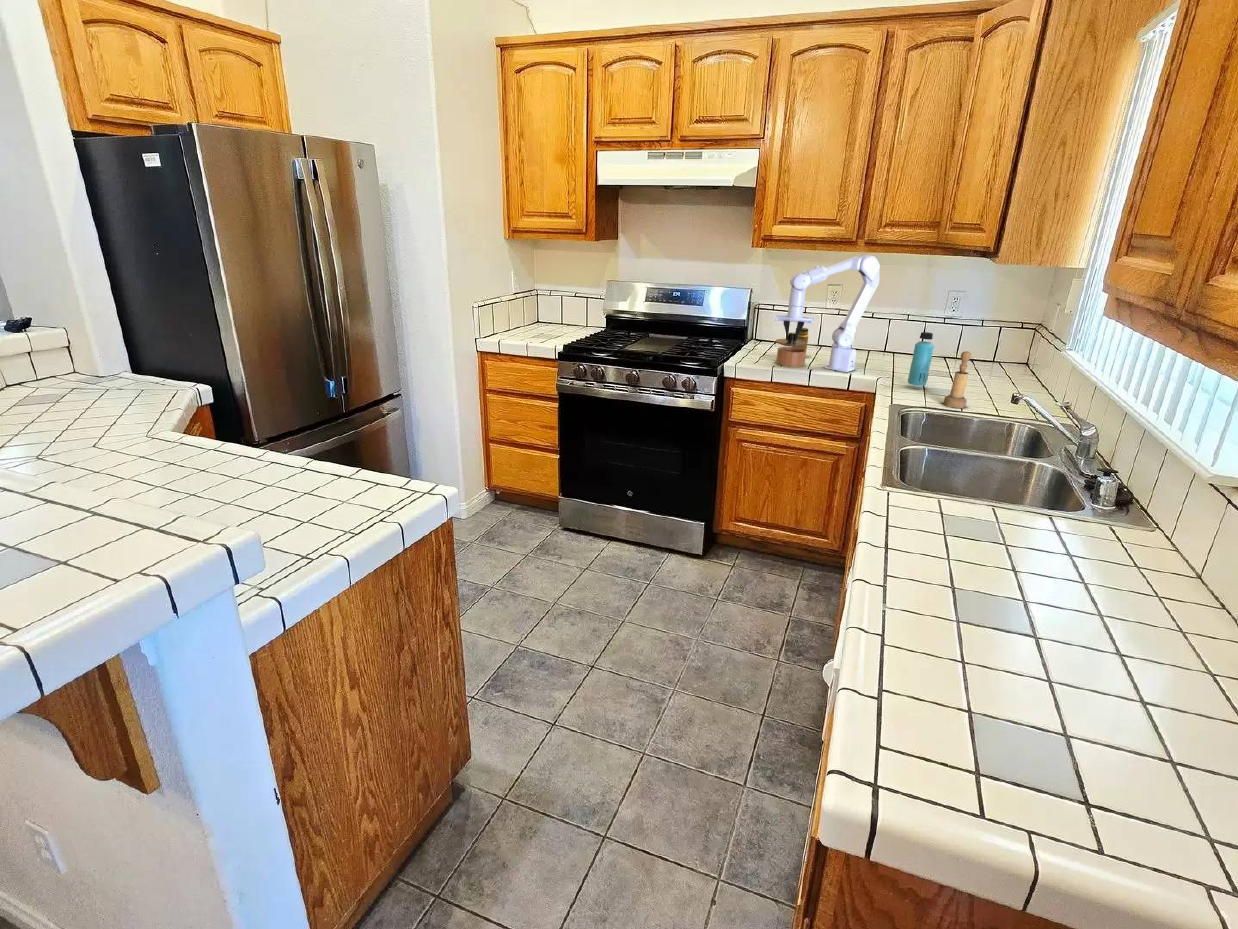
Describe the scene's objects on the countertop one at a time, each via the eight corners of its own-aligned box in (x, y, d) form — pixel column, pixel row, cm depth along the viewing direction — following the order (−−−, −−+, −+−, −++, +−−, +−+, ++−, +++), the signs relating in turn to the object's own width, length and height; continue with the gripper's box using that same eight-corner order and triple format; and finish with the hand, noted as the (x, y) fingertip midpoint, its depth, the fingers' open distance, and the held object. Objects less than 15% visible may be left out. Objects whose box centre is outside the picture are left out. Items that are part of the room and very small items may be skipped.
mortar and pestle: (944, 406, 213) (956, 352, 207) (942, 401, 219) (954, 348, 212) (966, 409, 211) (979, 354, 204) (964, 404, 217) (977, 350, 210)
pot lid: (812, 345, 258) (813, 333, 257) (796, 348, 250) (798, 337, 248) (785, 340, 266) (786, 329, 264) (769, 343, 258) (770, 332, 256)
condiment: (809, 356, 281) (813, 328, 276) (798, 359, 275) (803, 330, 271) (794, 353, 286) (798, 326, 281) (784, 355, 280) (787, 328, 276)
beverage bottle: (916, 390, 232) (928, 334, 225) (902, 385, 237) (913, 331, 230) (929, 389, 234) (941, 333, 227) (915, 384, 240) (926, 330, 233)
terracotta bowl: (809, 364, 266) (811, 350, 264) (795, 368, 258) (797, 353, 256) (785, 359, 273) (787, 345, 271) (770, 363, 266) (772, 348, 263)
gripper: (815, 305, 255) (810, 340, 260) (777, 302, 258) (773, 337, 263) (815, 307, 248) (810, 343, 253) (776, 305, 251) (772, 340, 256)
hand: (791, 340), depth 257 cm, fingers closed on pot lid, 2 cm apart
